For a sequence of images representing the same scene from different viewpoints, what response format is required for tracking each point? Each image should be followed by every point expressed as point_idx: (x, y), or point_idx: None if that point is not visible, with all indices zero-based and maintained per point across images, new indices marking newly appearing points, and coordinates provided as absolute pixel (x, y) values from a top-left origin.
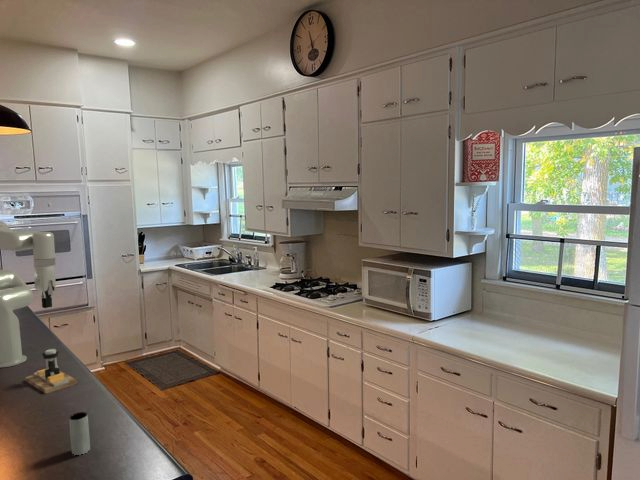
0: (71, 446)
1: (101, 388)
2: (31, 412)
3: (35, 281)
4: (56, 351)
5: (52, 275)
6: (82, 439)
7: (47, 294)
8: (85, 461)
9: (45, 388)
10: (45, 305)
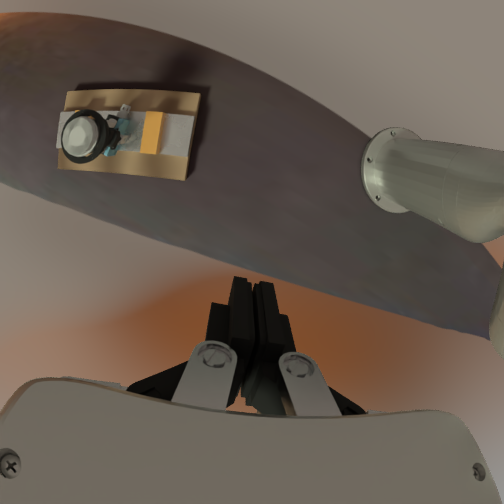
0: None
1: (11, 186)
2: (30, 49)
3: None
4: (79, 157)
5: None
6: None
7: (128, 390)
8: None
9: (72, 94)
10: (231, 302)
